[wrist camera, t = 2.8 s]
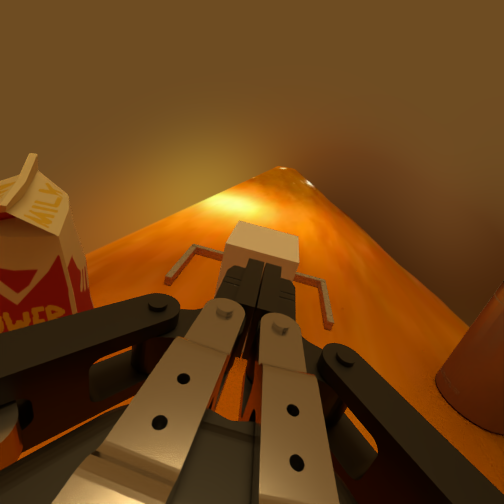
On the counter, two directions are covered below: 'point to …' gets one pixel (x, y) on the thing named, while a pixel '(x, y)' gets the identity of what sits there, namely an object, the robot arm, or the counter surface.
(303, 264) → the counter surface
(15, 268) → the milk carton
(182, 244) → the counter surface
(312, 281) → the metal staple
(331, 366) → the robot arm
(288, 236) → the carton
